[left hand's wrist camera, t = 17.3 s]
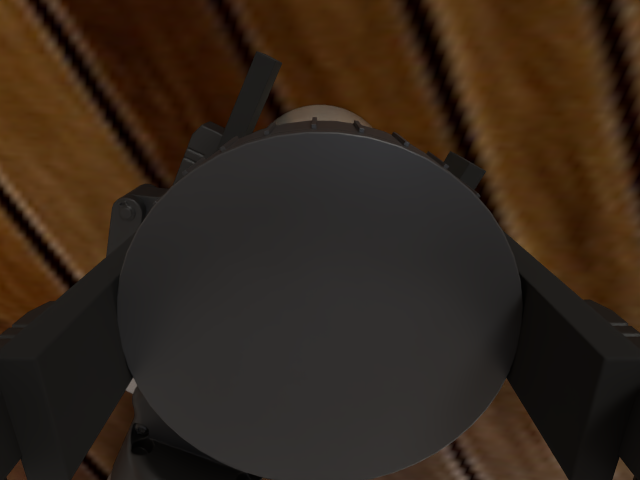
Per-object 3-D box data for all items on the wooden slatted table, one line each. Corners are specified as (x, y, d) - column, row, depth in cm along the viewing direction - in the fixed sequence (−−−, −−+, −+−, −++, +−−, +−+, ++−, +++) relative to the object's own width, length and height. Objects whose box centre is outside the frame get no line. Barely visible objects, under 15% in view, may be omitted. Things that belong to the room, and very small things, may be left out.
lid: (136, 101, 10) (91, 108, 8) (529, 133, 11) (579, 148, 9) (157, 415, 14) (128, 476, 12) (455, 434, 14) (479, 496, 12)
